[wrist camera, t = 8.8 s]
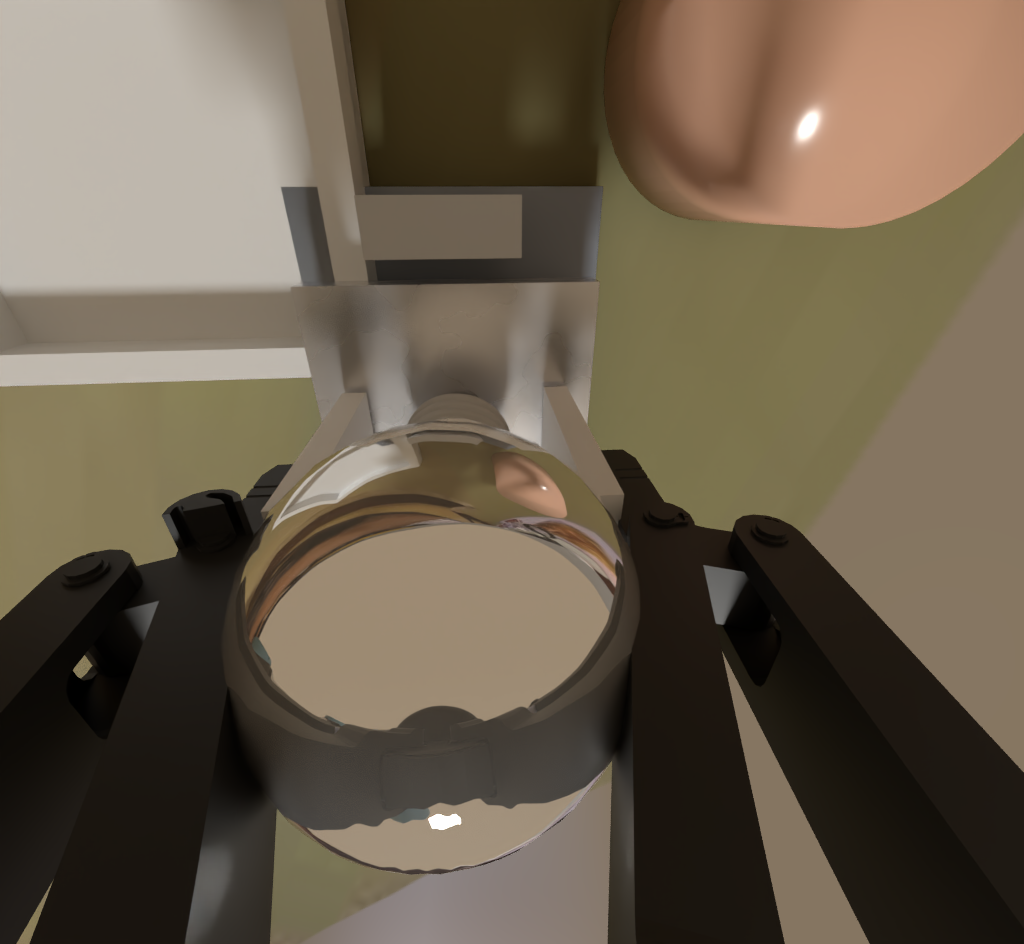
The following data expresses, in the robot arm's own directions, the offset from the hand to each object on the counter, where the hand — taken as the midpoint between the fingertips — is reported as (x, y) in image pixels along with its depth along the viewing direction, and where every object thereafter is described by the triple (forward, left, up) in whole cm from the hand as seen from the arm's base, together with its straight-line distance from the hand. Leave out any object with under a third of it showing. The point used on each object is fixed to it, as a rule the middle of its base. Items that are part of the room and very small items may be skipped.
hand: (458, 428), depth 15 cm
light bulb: (0, 0, 0) cm, 0 cm away
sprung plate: (0, 0, -1) cm, 1 cm away
